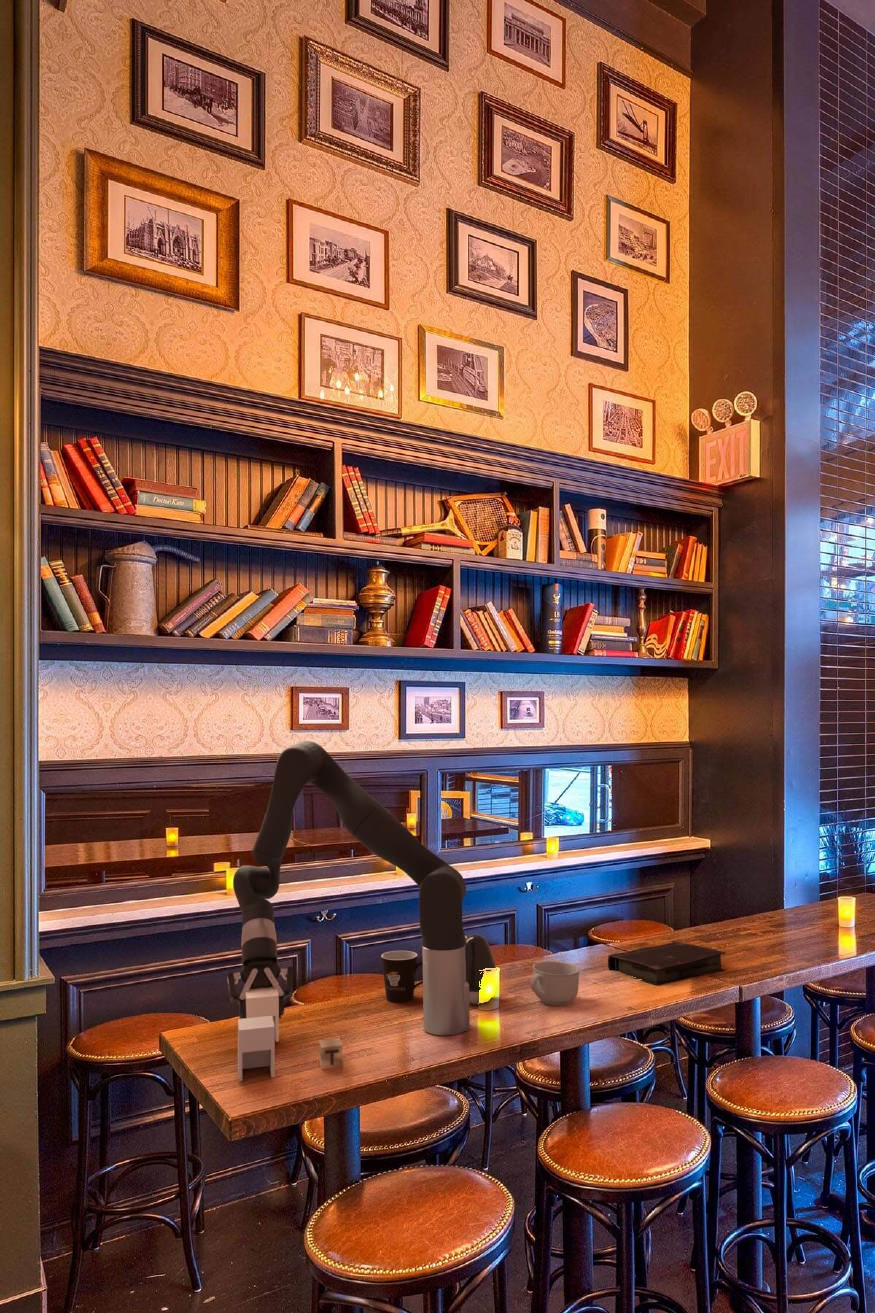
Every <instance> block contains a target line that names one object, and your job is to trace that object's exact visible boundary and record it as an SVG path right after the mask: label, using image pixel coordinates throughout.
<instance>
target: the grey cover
mask: <svg viewBox="0 0 875 1313" xmlns="http://www.w3.org/2000/svg"><path fill="white" fill-rule="evenodd" d="M275 1042H276V1040H275V1026H274V1022H273V1017H272V1016H264V1017H255V1018H245V1019H240V1018H238V1019H237V1076H238V1082H243V1070H245V1069H246V1070H247V1069H255V1068H262V1067H269V1072H270V1078H275V1071H276V1070H275V1069H276V1068H275V1065H276V1064H275V1062H276V1061H275V1056H276V1055H275V1054H276V1052H275V1048H276V1047H275V1044H276V1043H275Z"/></svg>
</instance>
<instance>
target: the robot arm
mask: <svg viewBox="0 0 875 1313" xmlns="http://www.w3.org/2000/svg"><path fill="white" fill-rule="evenodd" d="M275 765H276V766H275V769H274V775H273V780H272V781H273V782H272V785H271V791H270V796H269V800H268V804H267V809H266V811H265V814H264V818H263V821H262V824H261V826H260V830H259V831H258V834H257V837H256V840H255V842H254V845H253V847H252V848H253V849H252V852H251V853H252V854H251V855H252V858H253V859H254V860H255V862H257V863H258V864H261V865H263V866H265V867H262V866H257V865H256V866H255V865H248V864H247V865H242V866H240V867H238V868H237V870H236V871H235V872H234V875H233V880H232V887H233V891H234V894H235V897H236V901H237V903H238V905H239V909H240V912H241V922H242V924H241V925H242V926H241V927H242V928H241V931H242V932H241V944H240V945H241V946H240V947H241V970H239V972H238V971H237V972H233V971H228V972H227V977H226V978H227V985H228V986H227V988H228V994H229V999H230V1001H229V1002H230V1004H238V1006H239V1008H238V1009H239V1019H245V1018H246V999H245V998H246V992H249V991H250V989H258V988H269V987H272V988H273V989H277V991H278V995H279V1019H281V1018H282V1016H284V1014H285V1001H284V1000H286V999H291V998H292V994H293V983H294V982H293V980H294V967H293V966H290V965H289V966H288V967H287V968H281V967H280V965H279V962H278V961H279V958H278V945H277V944H278V942H277V932H276V928H275V915H274V914H275V913H274V912H275V911H274V905H273V904H272V903H271V901H269V900H270V899H272V898H273V897H274V896H276V894H277V893H278V891H279V889H280V888H279V887H280V882H281V881H280V879H281V878H280V877H281V867H282V861H283V857H284V855H285V854H284V853H286V852H285V851H286V849H287V846H288V843H289V840H290V838H291V836H292V835H291V834H292V828H293V817H294V816H293V815H294V814H293V813H294V809H295V806H296V803H297V800H298V798H299V796H300V795H301V792H303V791H302V790H303V789H304V788H305V786H306V785H307V784H312V785H313V786H315V787H316V788H317V789H319V790H320V792H322V793H323V794H324V795H325V796H326V797H327V798H328V799H329V800H330V801H331V803H332V805H333V806H334V808H335V810H336V812H337V815H338V817H339V818H340V820H341V823H342V824H343V826H344V828H345V829H346V830H347V831H348V833H349V834H350V835H352V837H354V839H356V840H357V841H358V842H359V843H360V844H361V845H362V846H363V847H364V848H366V849H367V850H368V851H370V852H371V853H372V854H374V855H375V856H376V857H378V858H380V859H382V860H384V861H385V862H387V863H390V864H391V865H393V866H395V867H397V868H398V869H400V870H401V871H402V872H404V873H405V874H406V875H407V876H408V877H410V879H411V880H412V881H413V882H414V883H415V884H416V885H417V886H418V887H419V889H418V911H419V912H418V913H419V931H420V935H421V940H422V941H421V944H422V945H421V946H422V953H421V954H422V962H423V965H422V980H423V983H422V1001H423V1002H422V1005H423V1006H422V1008H423V1010H422V1011H423V1018H422V1019H423V1020H422V1021H423V1030H424V1032H426V1033H429V1034H431V1035H435V1036H453V1035H458V1034H462V1033H464V1032H465V1031H470V1030H471V1025H470V1024H471V1022H470V1021H471V1019H470V1018H471V1016H470V1003H469V984H468V983H467V982H466V958H465V934H466V932H465V931H464V925H463V924H464V923H463V901H464V899H465V898H466V894H467V884H466V881H465V879H464V877H463V876H462V874H461V873H460V872H459V871H458V870H457V869H456V868H455V867H453V866H451V864H449V863H447V862H446V861H445V860H443V859H442V858H441V857H439V856H438V855H436V853H434V852H432V851H431V850H430V849H428V848H427V847H426V846H425V845H423V844H422V842H420V840H418V838H417V837H416V836H415V835H414V834H413V833H412V832H411V831H410V830H409V829H408V828H407V827H406V826H405V825H404V824H403V823H402V822H400V820H398V818H396V817H395V816H394V814H392V813H391V812H390V811H389V810H388V809H386V807H385V806H384V805H383V804H381V803H380V802H379V801H377V799H376V798H374V797H373V796H371V794H369V793H368V792H367V790H365V789H364V788H363V787H362V786H361V785H360V784H359V783H357V782H356V781H355V780H354V779H353V778H352V777H351V776H350V775H349V774H348V773H346V771H345V770H344V769H343V768H342V767H341V766H340V765H339V764H338V763H337V761H336V760H335V759H334V758H333V757H332V755H330V754H329V753H328V752H327V750H325V748H324V747H322V746H321V745H320V744H319V743H317V742H315V741H311V740H303V741H300V742H298V743H295V744H292V745H290V746H288V747H286V748H285V749H283V750H282V751H281V752H280V754H279V756H278V758H277V762H276V764H275ZM280 976H282V978H283V979H284V981H286V982H285V983H286V986H285V987H286V988H285V989H284V990H283V989H282V988H281V986H280V983H279V982H278V979H279V977H280ZM239 979H240V980H241V981H242V982H243V983H244V986H243V989H242V991H241V993H240V994H238V993H237V990H236V985H237V984H238V983H239Z"/></svg>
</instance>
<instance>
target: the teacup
mask: <svg viewBox="0 0 875 1313" xmlns="http://www.w3.org/2000/svg"><path fill="white" fill-rule="evenodd" d="M579 979H580V968H579V967H578V966H576V965H574V964H572V963H569V962H564V961H556V960H545V961H538V962H536V963H534V964H533V965H532V976H531V978H530V984H529V985H530V989H531V990H532V991H533V993H534V994H535V996H536V997H537V998H538V999H539V1000H540V1001H541V1002H542V1003H543V1004H546V1005H550V1006H558V1007H559V1006H560V1007H561V1006H566V1005H569V1004H570V1003H571V1002H573V1001H574V1000H575V999H576V998H577V997H578V992H579Z"/></svg>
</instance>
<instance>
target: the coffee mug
mask: <svg viewBox="0 0 875 1313" xmlns="http://www.w3.org/2000/svg"><path fill="white" fill-rule="evenodd" d="M380 957H381V965H382V972H383V974H382V975H383V981H384V990H385V996H386V997H385V998H386V1001H388V1002H389V1001H390V1003H394V1004H395V1003H396V1004H399V1003H400V1004H401V1003H407V1002H408V1001H409V1002H411V1001H413V1000H414V996H415V989H416V987H420V985H423V979H422V980H421V981H420V982H418V983H416V975H417V974H416V973H417V970H418V968H419V967H420V966H423V961H421V962H418V953H417V952H414V951H409V950H391V951H386V952H384V953H382V954H381V956H380ZM417 962H418V963H417ZM409 1002H408V1003H409Z"/></svg>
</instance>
